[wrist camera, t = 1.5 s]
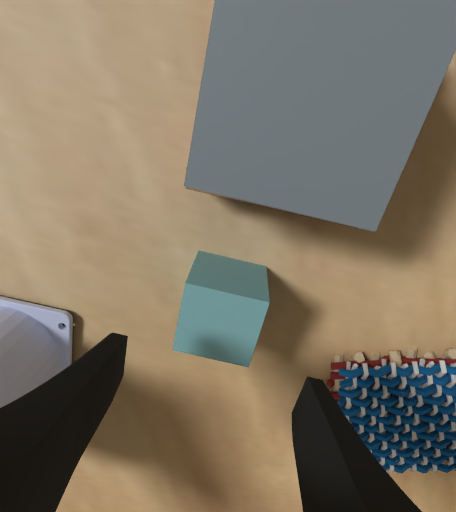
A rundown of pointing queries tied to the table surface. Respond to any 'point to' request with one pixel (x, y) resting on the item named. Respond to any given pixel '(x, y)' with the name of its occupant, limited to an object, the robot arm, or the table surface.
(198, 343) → the teal cube
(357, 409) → the woven mat
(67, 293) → the table surface
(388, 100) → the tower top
